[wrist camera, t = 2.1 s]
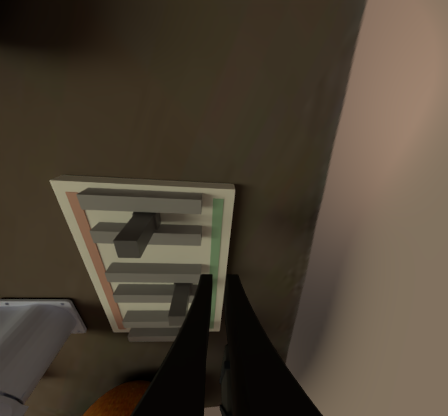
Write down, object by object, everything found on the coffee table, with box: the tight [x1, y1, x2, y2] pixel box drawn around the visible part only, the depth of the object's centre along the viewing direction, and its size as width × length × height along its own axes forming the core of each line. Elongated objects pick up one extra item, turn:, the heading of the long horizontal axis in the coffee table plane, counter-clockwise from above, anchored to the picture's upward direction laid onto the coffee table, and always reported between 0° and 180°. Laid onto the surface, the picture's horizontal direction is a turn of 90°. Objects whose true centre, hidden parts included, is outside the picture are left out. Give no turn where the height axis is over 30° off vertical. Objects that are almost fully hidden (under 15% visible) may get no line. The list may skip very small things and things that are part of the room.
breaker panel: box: [49, 175, 235, 342], centre depth 21 cm, size 16×24×3 cm, turn 176°
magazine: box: [219, 345, 233, 416], centre depth 30 cm, size 4×13×15 cm, turn 175°
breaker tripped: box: [113, 212, 161, 258], centre depth 14 cm, size 2×2×5 cm
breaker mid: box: [168, 283, 193, 326], centre depth 19 cm, size 2×2×5 cm
